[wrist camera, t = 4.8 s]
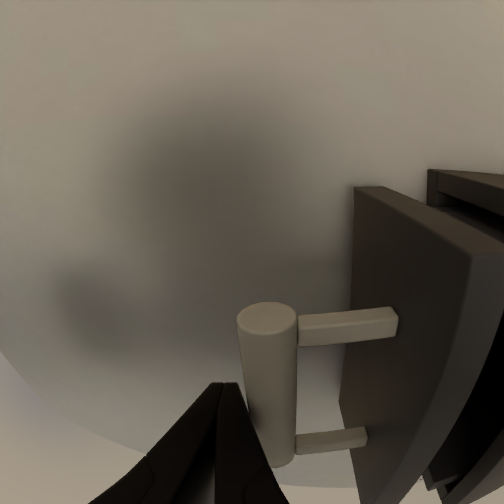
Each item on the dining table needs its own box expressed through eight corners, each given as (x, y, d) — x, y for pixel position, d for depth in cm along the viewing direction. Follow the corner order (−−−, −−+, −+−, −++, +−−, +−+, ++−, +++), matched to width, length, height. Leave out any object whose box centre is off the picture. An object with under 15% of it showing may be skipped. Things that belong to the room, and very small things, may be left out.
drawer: (261, 407, 14) (257, 529, 7) (240, 192, 10) (202, 276, 4) (504, 360, 13) (556, 430, 6) (546, 193, 9) (640, 234, 3)
